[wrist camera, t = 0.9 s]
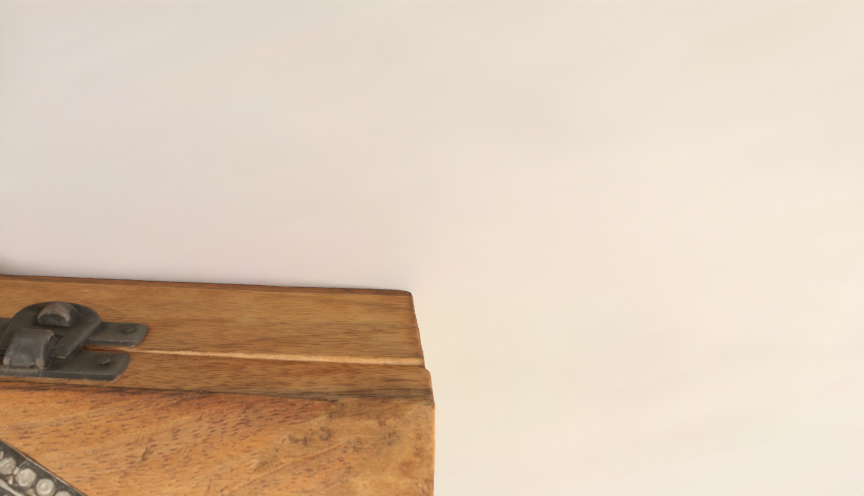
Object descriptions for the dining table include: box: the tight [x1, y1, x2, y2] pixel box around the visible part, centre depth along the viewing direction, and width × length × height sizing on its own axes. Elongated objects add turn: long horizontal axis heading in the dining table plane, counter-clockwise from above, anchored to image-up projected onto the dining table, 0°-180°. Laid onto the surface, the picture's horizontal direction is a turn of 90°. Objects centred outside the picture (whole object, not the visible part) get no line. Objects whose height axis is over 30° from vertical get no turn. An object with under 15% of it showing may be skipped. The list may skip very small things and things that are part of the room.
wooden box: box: [0, 275, 435, 496], centre depth 31 cm, size 30×16×14 cm, turn 84°
